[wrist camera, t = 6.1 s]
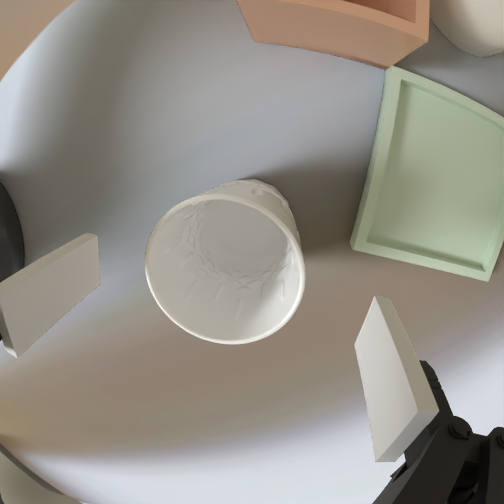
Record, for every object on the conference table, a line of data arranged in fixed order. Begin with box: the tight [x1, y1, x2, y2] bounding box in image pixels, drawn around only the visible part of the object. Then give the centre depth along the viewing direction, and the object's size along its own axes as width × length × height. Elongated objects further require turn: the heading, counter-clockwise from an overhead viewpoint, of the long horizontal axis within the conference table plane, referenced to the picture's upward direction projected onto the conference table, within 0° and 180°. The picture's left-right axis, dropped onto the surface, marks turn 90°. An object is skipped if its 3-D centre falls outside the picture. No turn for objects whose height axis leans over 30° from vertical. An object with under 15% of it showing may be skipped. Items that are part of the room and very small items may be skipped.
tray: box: [349, 66, 504, 282], centre depth 19 cm, size 14×14×2 cm
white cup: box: [145, 179, 306, 344], centre depth 19 cm, size 8×8×10 cm
